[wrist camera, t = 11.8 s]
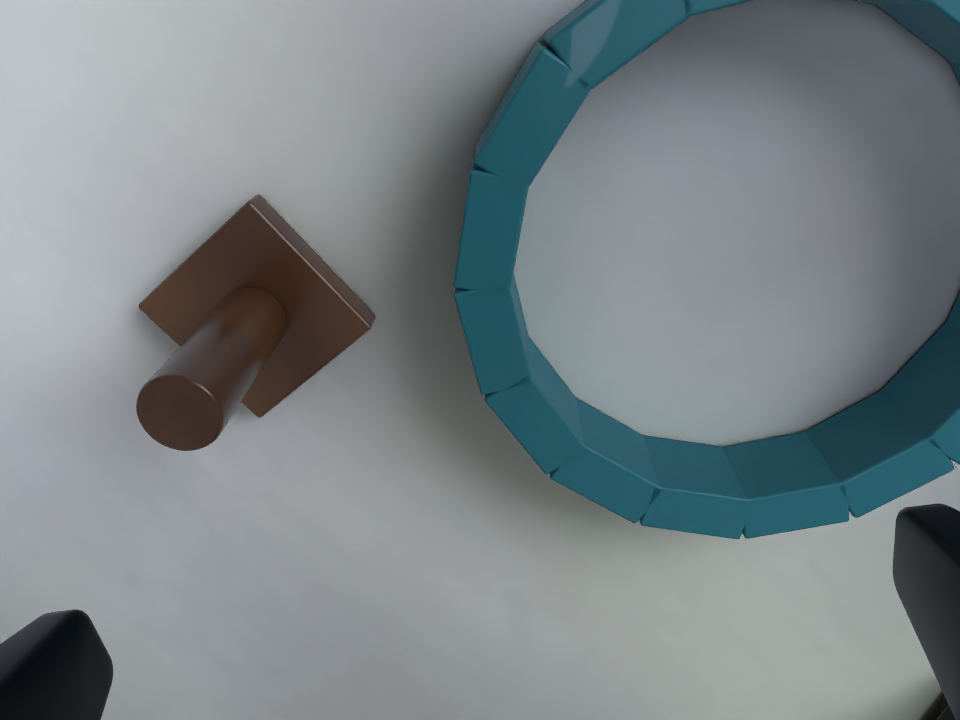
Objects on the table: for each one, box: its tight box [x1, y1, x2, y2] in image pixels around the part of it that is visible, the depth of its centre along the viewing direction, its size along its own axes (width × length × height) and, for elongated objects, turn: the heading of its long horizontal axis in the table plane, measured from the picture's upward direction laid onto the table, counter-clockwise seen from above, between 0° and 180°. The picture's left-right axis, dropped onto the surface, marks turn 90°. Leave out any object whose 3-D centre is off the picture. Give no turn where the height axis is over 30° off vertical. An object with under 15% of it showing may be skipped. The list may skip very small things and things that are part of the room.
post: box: [136, 195, 375, 451], centre depth 16 cm, size 4×4×6 cm
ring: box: [453, 0, 960, 539], centre depth 17 cm, size 13×13×2 cm
